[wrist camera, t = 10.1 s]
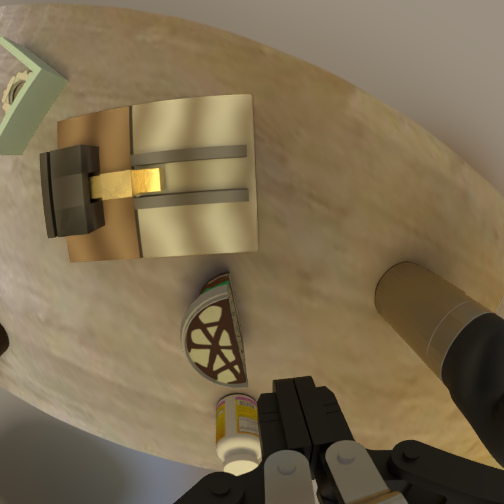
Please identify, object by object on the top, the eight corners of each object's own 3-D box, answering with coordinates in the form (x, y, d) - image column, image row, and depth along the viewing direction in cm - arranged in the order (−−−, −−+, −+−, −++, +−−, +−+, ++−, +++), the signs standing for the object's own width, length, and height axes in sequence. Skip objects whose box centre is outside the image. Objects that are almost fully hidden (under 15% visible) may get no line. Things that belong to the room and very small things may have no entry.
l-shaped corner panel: (28, 49, 27) (1, 35, 20) (70, 82, 30) (41, 68, 23) (-13, 115, 29) (-43, 112, 22) (23, 154, 32) (-9, 155, 25)
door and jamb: (250, 98, 33) (255, 82, 26) (256, 246, 37) (263, 264, 31) (64, 123, 31) (36, 117, 24) (76, 257, 36) (51, 275, 29)
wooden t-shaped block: (163, 167, 32) (146, 167, 25) (165, 189, 32) (148, 195, 25) (70, 180, 31) (37, 185, 24) (72, 200, 32) (40, 209, 25)
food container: (178, 268, 38) (163, 302, 28) (227, 260, 38) (226, 292, 28) (200, 350, 41) (195, 398, 31) (244, 344, 41) (249, 391, 31)
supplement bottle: (223, 423, 45) (224, 484, 33) (210, 397, 43) (207, 461, 31) (262, 415, 45) (271, 476, 33) (252, 388, 43) (260, 452, 31)
